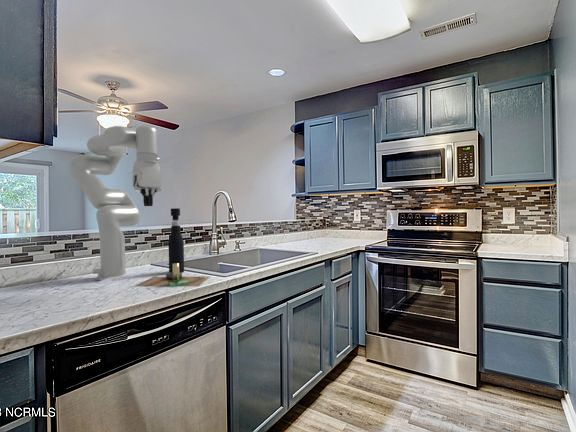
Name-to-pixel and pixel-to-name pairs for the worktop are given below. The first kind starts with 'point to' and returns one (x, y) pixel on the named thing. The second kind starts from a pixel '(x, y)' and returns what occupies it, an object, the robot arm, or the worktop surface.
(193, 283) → the board
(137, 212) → the robot arm
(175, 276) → the tuning dial
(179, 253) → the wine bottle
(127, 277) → the worktop surface
